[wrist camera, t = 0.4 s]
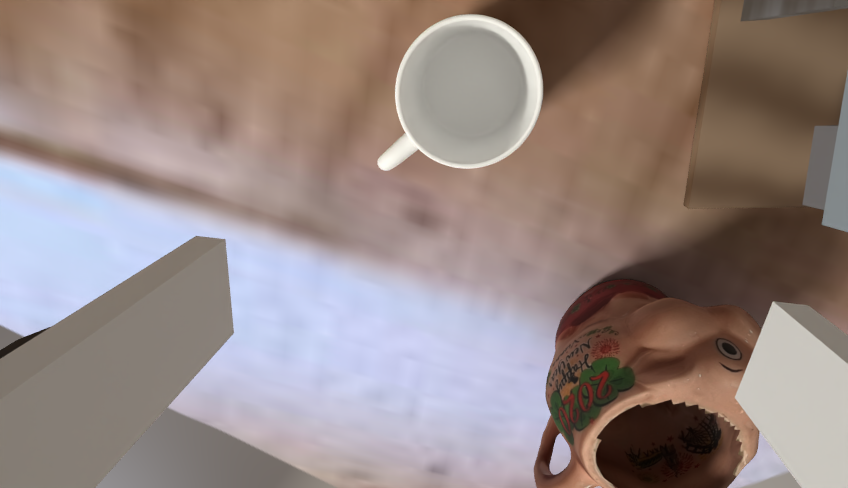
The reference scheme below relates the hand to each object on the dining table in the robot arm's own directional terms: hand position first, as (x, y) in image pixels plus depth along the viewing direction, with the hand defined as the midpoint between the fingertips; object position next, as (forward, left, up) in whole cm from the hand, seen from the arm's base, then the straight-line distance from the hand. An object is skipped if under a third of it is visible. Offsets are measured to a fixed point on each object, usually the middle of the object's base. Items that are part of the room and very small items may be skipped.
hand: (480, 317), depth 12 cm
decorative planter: (+18, +11, -28) cm, 35 cm away
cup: (-3, -2, -28) cm, 28 cm away
